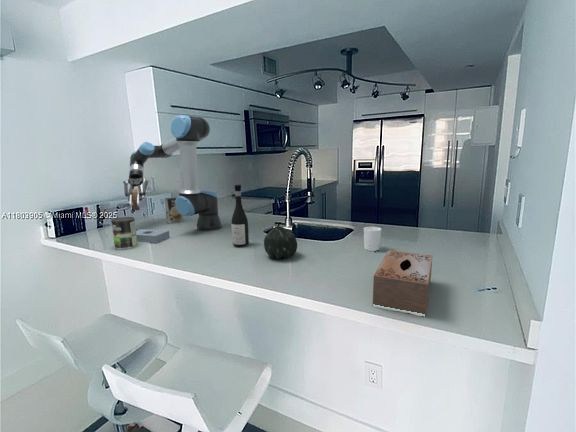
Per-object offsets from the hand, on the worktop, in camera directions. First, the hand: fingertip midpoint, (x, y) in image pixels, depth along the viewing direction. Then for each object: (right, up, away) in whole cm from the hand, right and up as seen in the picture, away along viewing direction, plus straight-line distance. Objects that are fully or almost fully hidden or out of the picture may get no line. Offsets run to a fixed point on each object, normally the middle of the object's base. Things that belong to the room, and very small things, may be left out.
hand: (134, 204), depth 173 cm
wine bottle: (+63, -21, -19) cm, 69 cm away
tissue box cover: (+123, -32, -74) cm, 147 cm away
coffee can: (+5, -22, -18) cm, 29 cm away
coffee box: (+10, -10, +36) cm, 39 cm away
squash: (+83, -24, -37) cm, 94 cm away
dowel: (-1, -3, +4) cm, 5 cm away
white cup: (+125, -22, -30) cm, 130 cm away
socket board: (+11, -19, -7) cm, 23 cm away
